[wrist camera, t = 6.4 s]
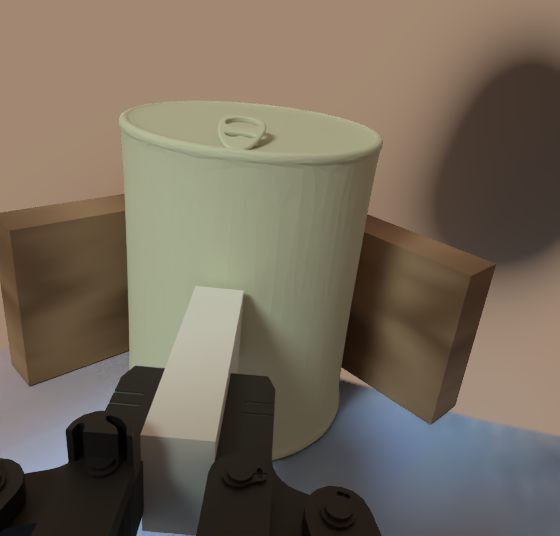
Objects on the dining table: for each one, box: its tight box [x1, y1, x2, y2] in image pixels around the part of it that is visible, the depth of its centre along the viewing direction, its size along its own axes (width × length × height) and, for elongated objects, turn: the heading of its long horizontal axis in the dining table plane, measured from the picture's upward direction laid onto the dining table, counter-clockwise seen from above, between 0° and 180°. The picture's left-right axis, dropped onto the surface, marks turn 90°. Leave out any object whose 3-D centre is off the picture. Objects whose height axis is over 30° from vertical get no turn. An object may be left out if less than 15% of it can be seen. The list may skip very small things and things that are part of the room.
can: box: [119, 101, 383, 460], centre depth 21 cm, size 9×9×12 cm
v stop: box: [0, 194, 496, 424], centre depth 26 cm, size 11×20×7 cm, turn 88°
